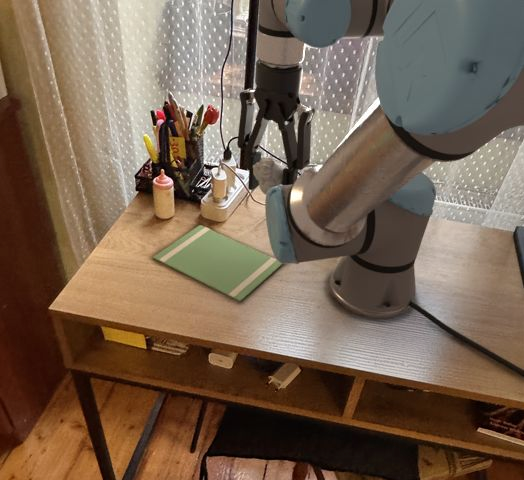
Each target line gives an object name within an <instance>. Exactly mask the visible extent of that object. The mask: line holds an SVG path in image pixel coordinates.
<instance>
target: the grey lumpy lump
mask: <svg viewBox="0 0 524 480" xmlns="http://www.w3.org/2000/svg"><path fill="white" fill-rule="evenodd" d="M285 167H286V166H284V165H283V164H281V163H280V162H277V161H275V160H274V158H269V157H267V156H262V157H261V159H260V162H259V163H258V162H257V163H256V164H255V165H253V174H254V176H255V177H256V179H257V180H258V181H259V186H258V187H259V190H260V191H261V192H262V194H264V195H265V196H266V194H267V191H268V190H269V189H270V188H271V187H274V186H278V185H279V184H280V185H282V178H283V169H284V168H285Z"/></svg>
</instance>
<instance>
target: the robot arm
mask: <svg viewBox="0 0 524 480" xmlns="http://www.w3.org/2000/svg"><path fill="white" fill-rule="evenodd" d="M257 20H258V21H257V37H256V51H255V52H256V54H255V56H256V57H257V61H256V62H255V76H254V77H255V78H254V81H255V82H254V83H255V89H252V88H251V87H250V88H247V89H245V90H243V91H240V92H239V101H240V115H239V125H238V134H237V142H236V144H237V147H238V149H243V150H244V151H245V154H246V159H245V163H246V164H245V168H246V170H247V171H248V185H247V186H248V187H247V188H248V190H249V191H253V190H254V189H256V188H258V187H259V181H258V180H257V179H256V177H255V176H254V174H253V165H255V164H256V163H257V162H258V163H259V162H260V159H261V158H262V154H263V153H262V151H259V149H261V146H260V145H261V142H262V140H263V137H264V135H265V132H266V130H267V127H268V125H269V122H270V121H273V122H274V123H276V124H277V128H278V130H279V132H280V133H281V139H282V144H283V150H284V155H285V156H284V157H285V160H286V161H285V162H286V166H284V167H285V168H284V169H283V178H282V185H280V184H279V185H278V186H274V187H271V188H270V189H269V190H268V191H267V194H266V195H265V199H264V200H265V203H264V204H265V205H264V208H265V221H266V222H265V223H266V228H267V234H268V239H269V244H270V247H271V251H272V253H273V256H274V258H275V259H277V260H278V261H279V262H280V263H283V264H282V265H288V264H295V265H298V264H301V263H306V262H307V263H308V262H314V261H321V260H327V259H334V258H335V259H336V258H340V259H339V261H338V262H337V263H336V265H335V267H334V268H333V271H331V274H330V278H329V283H328V290H329V294H330V296H331V298H332V299H333V300H334V301H335V303H337V305H339V306H340V307H341V308H343V309H344V310H345V311H347V312H349V313H351V314H353V315H355V316H358V317H362V318H366V319H372V320H388V319H394V318H397V317H399V316H402V315H404V314H405V313H406V312H408V311H409V310H410V308H412V309H413V310H414V311H416V312H417V313H418V314H420V315H422V316H423V317H424V318H426V319H427V320H429V321H430V322H432V323H433V324H434V325H435V326H436V327H438V328H439V329H441V330H443V331H445V332H446V333H448V334H449V335H451V336H453V338H456V339H457V340H458V341H461V342H463V343H465V344H466V345H468V346H469V347H471V348H473V349H474V350H477V351H478V352H480V353H482V354H484V355H485V356H487V357H488V358H490V359H492V360H493V361H496V362H497V363H499V364H501V365H502V366H504V367H506V368H507V369H509V370H511V371H513V373H516V374H518V375H520V376H521V377H524V369H523V368H520V367H519V366H517V365H516V364H513V363H512V362H511V361H508V360H507V359H505V358H504V357H502V356H500V355H498V354H497V353H495V352H494V351H491V350H490V349H488V348H486V347H485V346H483V345H481V344H479V343H478V342H475V341H474V340H472V339H470V338H468V337H467V336H465V335H464V334H461V333H460V332H458V331H456V330H455V329H453V328H452V327H450V326H449V325H447V324H446V323H444V322H443V321H441V320H440V319H438V318H437V317H436V316H434V315H432V313H430V312H429V311H427V310H426V309H424V308H422V307H421V306H420V305H418V304H417V303H415V302H414V300H415V297H416V273H415V263H416V260H417V256H418V254H419V251H420V249H421V245H422V242H423V238H424V236H425V233H426V229H427V227H428V225H429V221H430V218H431V216H432V215H433V212H434V205H435V201H436V197H437V189H436V186H435V184H434V182H433V181H432V179H431V178H430V177H429V176H428V175H426V174H425V173H424V171H425V170H426V169H428V168H429V167H430V166H432V165H433V164H434V163H435V162H437V163H451V162H457V161H460V160H463V159H465V158H467V157H469V156H471V155H473V154H474V153H476V151H478V150H479V149H481V148H483V147H484V146H486V145H487V144H489V142H491V141H492V140H494V139H495V138H497V137H498V136H499V135H501V134H502V133H504V132H507V131H508V130H510V129H513V128H517V127H524V0H258V19H257ZM364 38H365V39H366V38H368V39H369V38H376V39H379V38H381V39H382V40H379V41H378V42H377V46H376V53H375V60H374V61H375V63H374V82H375V90H376V93H377V99H376V100H375V101H374V102H373V104H372V105H371V106H370V107H369V108H368V109H367V111H365V113H364V114H363V116H362V117H361V118H360V119H359V120H358V121H357V122H356V123H355V125H354V126H353V128H351V130H350V131H349V132H348V134H347V135H346V136H345V137H344V138H343V140H342V141H341V142H340V143H339V144H338V146H336V148H335V149H334V150H333V152H332V153H331V154H330V156H329V157H327V159H326V160H325V162H324V163H323V164H320V165H315V166H312V167H310V168H308V169H306V170H305V171H304V172H302V173H300V175H299V171H302V170H303V169H305V168H306V167H308V166H309V165H310V162H311V145H312V142H311V141H312V122H313V120H314V117H315V115H316V109H315V108H314V107H307V106H305V105H303V104H302V102H301V97H300V92H301V88H302V82H303V73H304V72H303V71H304V64H303V61H304V59H305V51H306V46H309V47H310V48H313V49H319V50H320V49H321V50H322V49H327V48H329V47H332V46H333V45H335V44H336V43H338V42H339V41H340V40H346V39H347V40H348V39H364ZM256 104H257V107H258V110H257V113H256V116H255V108H256ZM296 113H297V118H296V117H295V114H296ZM254 116H255V122H254ZM295 118H296V119H297V121H298V123H297V135H296V128H295V125H296V119H295ZM253 122H254V124H253ZM253 125H254V126H253ZM298 175H299V176H298Z"/></svg>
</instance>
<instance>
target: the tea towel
mask: <svg viewBox="0 0 524 480" xmlns="http://www.w3.org/2000/svg"><path fill="white" fill-rule="evenodd" d="M152 258H153V259H154V260H155V261H158V262H160V263H162V264H163V265H165V266H167V267H170V268H171V269H174V270H176V271H178V272H179V273H181V274H184V275H185V276H187V277H189V278H192V279H193V280H196V281H198V282H200V283H202V284H203V285H205V286H208V287H209V288H212V289H214V290H215V291H218V292H220V293H222V294H224V295H225V296H228V297H230V298H231V299H234V300H235V301H237V302H239V303H241V302H242V301H243V300H244V299H245V298H247V297H248V296H249V295H250V294H251V293H252V292H254V291H255V290H256V289H257V288H258V287H259V286H260V285H261V284H262V283H264V282H265V280H266V279H268V278H269V277H270V276H271V275H272V274H274V273H275V272H276V271H277V270H278V269H279V268H281V266H283V265H284V264H283V263H280V262H279V261H278V260H277V259H276V257H272V256H270V255H268V254H265V253H263V252H261V251H259V250H258V249H257V250H256V249H255V248H252V247H250V246H248V245H246V244H244V243H241V242H239V241H237V240H235V239H233V238H230V237H228V236H226V235H224V234H222V233H219V232H217V231H215V230H212V229H211V228H209V227H206V226H204V225H201V224H199V225H198V226H196V227H195V228H193V229H192V230H190V231H189V232H188V233H186V234H184V235H183V236H182V237H180V238H179V239H177V240H175V241H174V242H173V243H171V244H170V245H169V246H167V247H166V248H164V249H163V250H161V251H160V252H158V253H156V254H155V255H154V256H152Z"/></svg>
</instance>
